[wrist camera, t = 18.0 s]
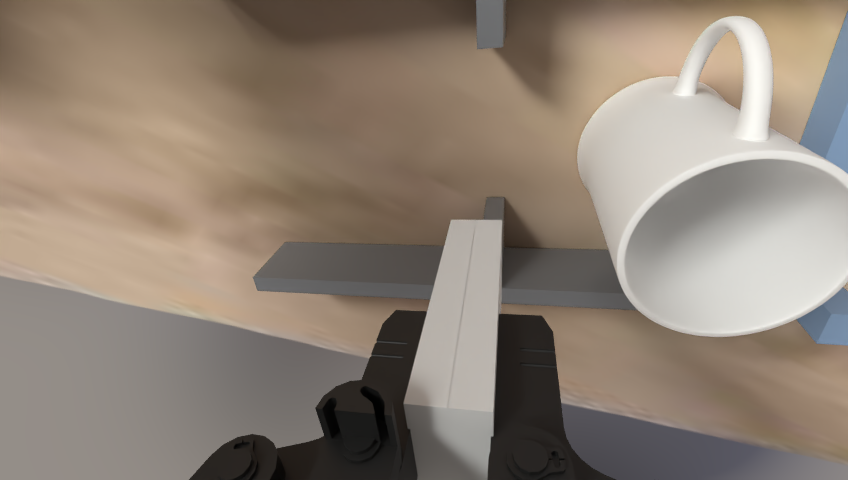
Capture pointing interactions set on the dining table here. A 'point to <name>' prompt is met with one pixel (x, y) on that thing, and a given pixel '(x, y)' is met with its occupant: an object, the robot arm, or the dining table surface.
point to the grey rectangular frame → (418, 264)
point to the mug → (714, 199)
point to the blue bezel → (843, 146)
